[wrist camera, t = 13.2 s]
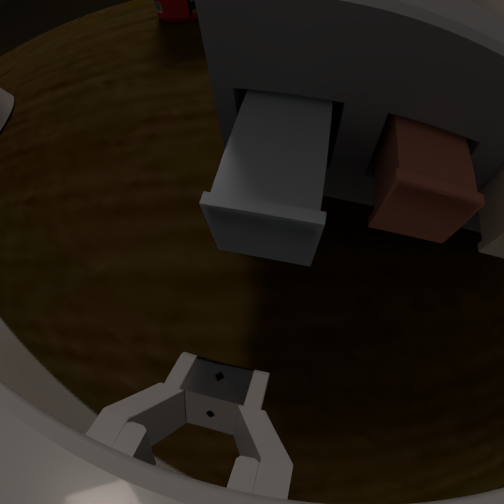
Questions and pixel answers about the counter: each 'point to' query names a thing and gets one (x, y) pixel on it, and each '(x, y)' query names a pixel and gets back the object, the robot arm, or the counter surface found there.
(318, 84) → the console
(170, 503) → the robot arm
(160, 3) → the canned food
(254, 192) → the blue-grey key
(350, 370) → the counter surface
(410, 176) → the brick key
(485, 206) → the ivory key
